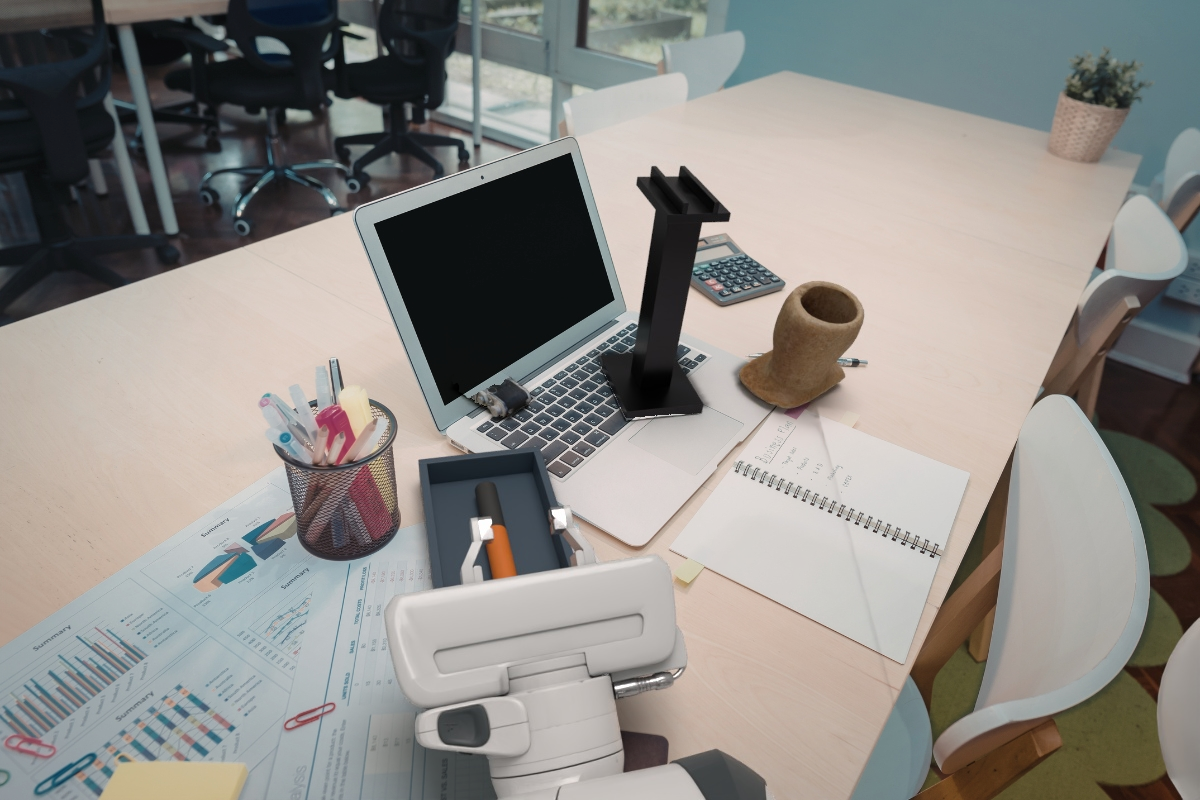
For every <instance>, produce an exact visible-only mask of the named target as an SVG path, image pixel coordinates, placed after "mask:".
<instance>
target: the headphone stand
mask: <svg viewBox="0 0 1200 800" xmlns="http://www.w3.org/2000/svg"><path fill="white" fill-rule="evenodd" d="M650 167H651V168H650V173H649V176H637V177H636V182H635V185H636V188H637V189H638V190H639V191H640V192H641V193H642V195H643V196H644V197H645V198H646V199H647V201H648V203H650V205H651V207H652V208H653V209H654V210H655V211H654V216H653V217H654V218H653V223H652V230H651V238H650V243H649V249H648V256H647V264H646V270H645V276H644V283H643V289H642V295H641V302H640V307H639V308H640V310H639V314H638V322H637V327H636V333H635V342H634V348H633V352H624V353H611V354H600V355H599V359H598V360H599V362H600V364H601V366H602V369H603V371H604V373H605V375H606V377H607V379H608V381H609V383H610V386H611V388H612V390H613V392H614V394H615V396H616V398H617V400H618V403H619V405H620V407H621V409H622V411H623V413H624V415H625V417H626V418H635V417H645V416H655V415H656V416H657V415H669V414H670V415H671V414H691V415H695V414H694V413H701V414H702V413H703V409H704V405H705V403H704V402H703V400H702V399H701V397H700V395H699V393H697V390H696V389H695V387H694V385H693V384H692V382H691V381H690V379H689V377H688V375H687V374H686V372H685V371H684V369H683V368H682V365H680V363H679V361H678V359H677V353H678V348H679V343H680V337H681V333H682V328H683V323H684V316H685V312H686V308H687V302H688V297H689V294H690V293H689V292H690V287H691V282H692V277H693V272H694V267H695V262H696V256H697V251H698V248H699V247H698V246H699V242H700V236H701V231H702V227H703V223H704V224H707V223H729V222H730V219H731V214H732V212H730V211H729V210H728V208H727V207H726V206H725V205H724V204H723V203H722V202H721V201H720V200H719V199H718V198H717V197H716V196H715V195H714V194H713V192H711V191H710V190H709V189H708V188H707V186H705V184H703V182H702V181H701V180H700V179H699V178H697V176H695V174H693V173H692V172H691V170H689V168H688V167H687V166H685V165H679V172H678V176H676V175H675V176H674V175H673V176H671V175H670V176H669V175H668V176H666V175H665V174H664V173H663V172H662V171H661V170H660V169H659V167H658V166H657V165H651V166H650ZM599 362H598V363H599ZM692 413H693V414H692Z"/></svg>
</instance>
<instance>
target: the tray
mask: <svg viewBox="0 0 1200 800" xmlns="http://www.w3.org/2000/svg"><path fill="white" fill-rule="evenodd" d="M417 464H418V479H419V488H420V495H421V504H422V511H423V520H424V521H423V522H424V528H425V535H426V544H427V553H428V559H429V569H430V578H431V584H432V589H438V588H444V587H450V586H457V585H461V578H460V571H461V567H462V565H463V563H464V560H465V558H466V555H467V553H468V551H469V548H470V546H471V544H472V541H471V533H470V518H476V517H480V515H479V510H478V505H477V500H476V495H475V487H476V486H477V485H478V484H479V483H481V482H484V481H490V482H493V483H494V484H495V485H496V488H497V492H498V497H499V501H500V505H501V509H502V513H503V518H504V522H505V526H506V530H507V534H508V539H509V543H510V547H511V551H512V555H513V560H514V564H515V568H516V572H517V576H519V575H525V574H531V573H538V572H544V571H550V570H556V569H562V568H569V567H572V566H571V560H570V557H571V556H572V555H573V554H574V550H573V548H572V547H571V545H570V544H569V543H568V542H567V540H566V539H565V538H564V536H563V535H562V534H554V535H551V531H550V525H551V522H550V521H549V519H548V510H550V508H551V507H558V506H559V503H558V499H557V497H556V494H555V491H554V488H553V484H552V481H551V479H550V475H549V472H548V469H547V466H546V462H545V459H544V456H543V453H542V450H541V447H540V446H539V445H537V446H528V447H519V448H518V447H517V448H509V449H501V450H491V451H483V452H475V453H474V452H473V453H464V454H455V455H446V456H438V457H429V458H420V459H418V460H417ZM474 566H481V568H482V575H483V581H488V580H493V578H492V573H491V568H490V563H489V558H488V553H487V549H486V545H481V548H480V550H479V553H478V555H477V557H476V560H475V562H474V565H473V568H474ZM599 676H603V675H599ZM594 677H598V676H594ZM496 697H499V696H496Z"/></svg>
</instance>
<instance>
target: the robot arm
mask: <svg viewBox="0 0 1200 800" xmlns="http://www.w3.org/2000/svg"><path fill="white" fill-rule="evenodd" d="M548 519H549V521H550V522H551V525H550V531H551V535H554V534H562V535H563V536H564V538H565V539H566V540H567V542H568V543H569V544H570V545H571V547H572V550H573V555H572V556H571V557H570V560H571V566H572V567H569V568H562V569H556V570H550V571H544V572H538V573H531V574H525V575H519V576H513V577H506V578H500V579H494V580H488V581H483V575H482V568H481V566H474V568H473V565H474V562H475V560H476V557H477V555H478V553H479V550H480V548H481V545H486V544H492V543H493V540H494V534H493V529H492V528H491V525H492V519H491V516H484V517H476V518H470V533H471V541H472V544H471V546H470V548H469V551H468V553H467V555H466V558H465V560H464V563H463V565H462V567H461V571H460V578H461V585H457V586H450V587H444V588H438V589H433V588H432V589H426V590H420V591H413V592H407V593H402V594H401V593H400V594H396V595H394V596H393V597H392V598H391V599H390V600H389V602H388V604H387V605H386V606H385V608H384V610H383V617H384V627H385V633H386V640H387V645H388V648H389V655H390V660H391V663H392V666H393V671H394V674H395V678H396V681H397V684H398V686H399V689H400V691H401V692H402V695H403V696H404V698H405V699H406V700H407V701H408V702H409V703H410V704H412V705H413V706H414V707H417V708H419V709H420V708H421V709H423V711H420V712H419V714H417V715H416V717H415V720H414V736H415V740H416V742H417V743H418V745H420V746H421V747H423V748H426V749H431V750H439V751H447V752H448V751H449V752H457V754H458V755H463V756H472V755H474V754H477V755H485V756H486V758H487V759H488V764H489V765H488V767H489V774H490V775H489V776H490V780H491V784H492V786H493V789H494V792H495V794H496V797H497V799H496V800H777V798H776V796H775V795H774V794H773V792H772V790H771V789H770V788H769V787H768V784H767V781H766V779H765V778H764V777H762V775H760V774H759V773H758V772H756V771H755V770H754V769H753V768H751V767H749V766H748V765H747V764H745V763H743V762H742V761H740V760H739V759H737V758H735V757H734V756H731V754H728V753H727V752H725V751H723V750H721V749H719V748H713V749H709V750H705V751H702V752H699V753H695V754H692V755H691V754H690V755H688V756H684V757H680V758H676V759H673V760H671V761H670V762H669V763H666V764H661V765H656V766H651V767H646V768H641V769H636V770H632V771H626V772H625V771H624V769H625V767H624V766H625V749H624V743H623V739H622V733H621V727H620V723H619V717H618V711H617V706H616V701H617V700H621V699H624V698H630V697H634V696H637V695H640V694H643V693H646V692H649V691H661V690H666V689H669V688H671V687H674V683H675V681H676V680H678V679H680V678H681V676H683V674H684V673H685V671H686V669H687V665H688V660H689V659H688V651H687V648H686V642H685V636H684V635H683V632H682V629H681V628H680V627H679V626H678V624H677V608H676V597H675V588H674V583H673V576H672V571H671V567H670V565H669V563H668V562H667V561H666V560H665V559H664V558H662V557H661V556H660V555H659V554H657V553H650V554H644V555H638V556H632V557H625V558H620V559H614V560H607V561H600V562H597V560H596V555H595V550H594V547H593V545H592V544H591V543H590V542H589V541H588V539H587V538H586V537H585V535H583V534H582V532H581V531H580V530H579V529H578V528H577V527H576V526H575V524H574V518H573V513H572V507H571V505H570V504H565V505H558V507H551V508H550V510H548ZM673 670H677V671H675V672H674V673H672V672H671V671H673ZM599 675H602V676H599ZM594 676H598V677H594ZM496 696H499V697H496ZM1156 723H1157V735H1158V736H1157V737H1158V740H1159V746H1160V747H1159V748H1160V751H1161V757H1162V760H1163V763H1164V767H1165V769H1166V773H1167V776H1168V778H1169V779H1170V782H1171V783H1172V784H1173V786H1174V787H1175V789H1176V791H1177V792H1178V794H1179V795H1180V797H1181V799H1182V800H1200V616H1199V617H1198V618H1197V619H1196V620H1195V621H1194V622H1193V623H1192V624H1191V625H1190V627H1189V628H1188V629H1186V631H1185V632H1184V634H1183V635H1181V638H1180V639H1179V640H1178V641H1177V643H1176V645H1175V647H1174V649H1173V650H1172V652H1171V654H1170V656H1169V657H1168V660H1167V662H1166V665H1165V668H1164V670H1163V673H1162V676H1161V680H1160V684H1159V689H1158V693H1157V706H1156Z"/></svg>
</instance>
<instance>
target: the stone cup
mask: <svg viewBox="0 0 1200 800" xmlns="http://www.w3.org/2000/svg"><path fill="white" fill-rule="evenodd" d="M864 321H865V309H864V306H863V304H862V302H861V301H860V300H859V299H858V297H857V296H856V295H855V294H854V293H853V292H852V291H851V290H850V289H848V288H846V287H844V286H842V285H840V284H838V283H834V282H830V281H826V280H825V281H824V280H811V281H808V282H804V283H801V284H800V285H799V286H797V287H795V288H794V289H793V290H792V291H791V292H790V293H789V295H788V296H787V297H786V298H785V300H784V301H783V303H782V305H781V308H780V310H779V313H778V314H777V316H776V320H775V324H774V327H773V332H772V349H771V350H769V351H766V352H765V353H763V354H761V355H759V356H757V357H756V358H754V359H751V360H750V361H749V362H747V363H746V364H744V365H743V366H742V367H741V369H740V370H739V372H738V377H739V380H740V382H741V383H742V384H743V386H744V387H745V388H746V389H747V390H748V391H750V392H751V393H752V394H753V395H754V396H756V397H757V398H758V399H760V400H762V401H764V402H765V403H767V404H770V405H772V406H777V407H779V408H781V409H793V408H798V407H800V406H803V405H805V404H807V403H809V402H812V401H813V400H815V399H816V398H818V397H819V396H821V395H823V394H824V393H826V392H827V391H828V390H830V389H831V388H833V387H834V386H836V385H838V384H839V383H841V382H842V381H843V380H844V379H845V378H846V373H845V371H844V369H843V367H841V365H840V364H839V362H838V361H839V360H840V359H841V357H842V356H843V355H844V354H845V353H846V352H847V351H848V350H849V349H850V348H851V347H852V345H854V343H855V341H856V340H857V337H858V336H859V334H860V332H861V329H862V326H863V324H864Z"/></svg>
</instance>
